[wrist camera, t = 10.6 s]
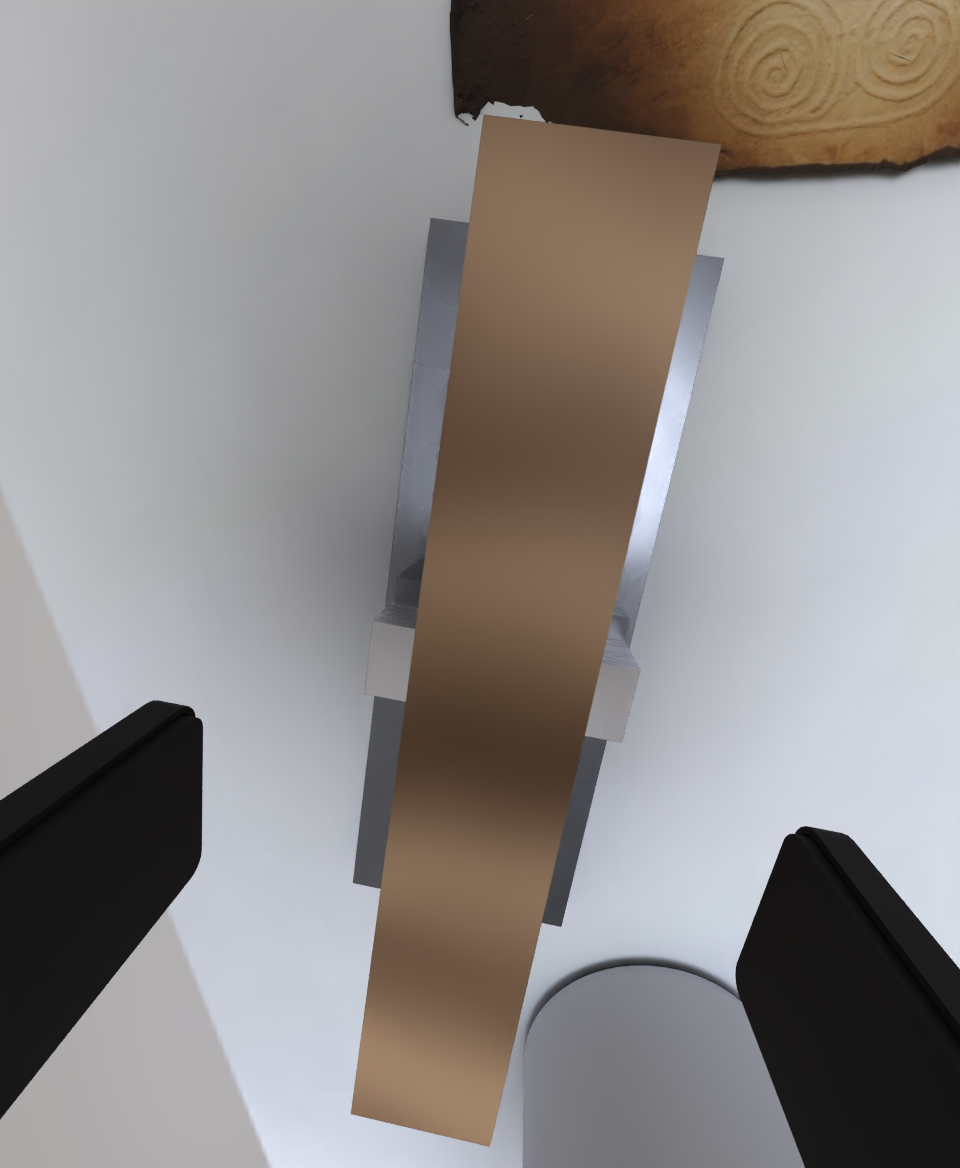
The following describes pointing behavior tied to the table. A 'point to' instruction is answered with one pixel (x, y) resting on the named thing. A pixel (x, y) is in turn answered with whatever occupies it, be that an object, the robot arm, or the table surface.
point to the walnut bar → (519, 587)
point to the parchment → (727, 74)
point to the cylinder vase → (649, 1078)
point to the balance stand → (410, 541)
